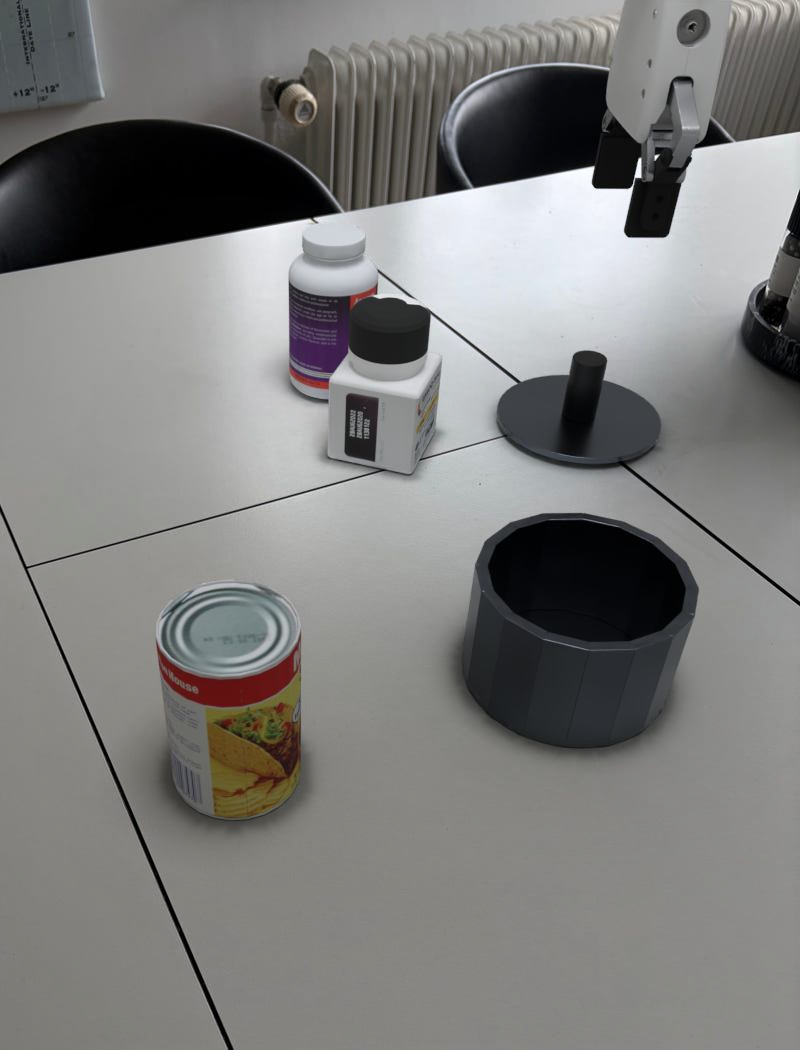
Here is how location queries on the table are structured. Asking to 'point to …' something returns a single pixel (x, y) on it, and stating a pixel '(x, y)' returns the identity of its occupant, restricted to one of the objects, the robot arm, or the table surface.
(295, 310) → the pill bottle
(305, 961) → the table surface
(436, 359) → the container
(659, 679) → the tin
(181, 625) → the canned food
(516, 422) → the tin lid
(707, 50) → the robot arm
